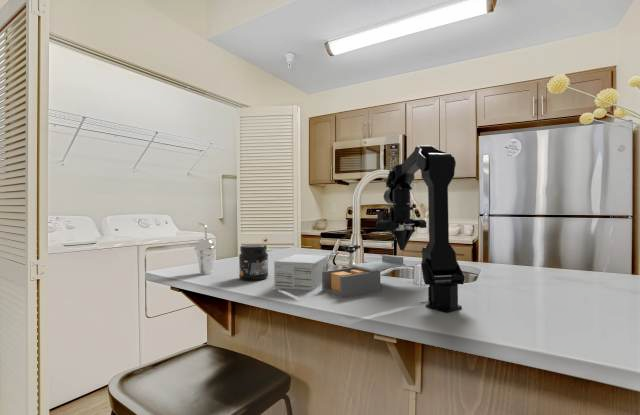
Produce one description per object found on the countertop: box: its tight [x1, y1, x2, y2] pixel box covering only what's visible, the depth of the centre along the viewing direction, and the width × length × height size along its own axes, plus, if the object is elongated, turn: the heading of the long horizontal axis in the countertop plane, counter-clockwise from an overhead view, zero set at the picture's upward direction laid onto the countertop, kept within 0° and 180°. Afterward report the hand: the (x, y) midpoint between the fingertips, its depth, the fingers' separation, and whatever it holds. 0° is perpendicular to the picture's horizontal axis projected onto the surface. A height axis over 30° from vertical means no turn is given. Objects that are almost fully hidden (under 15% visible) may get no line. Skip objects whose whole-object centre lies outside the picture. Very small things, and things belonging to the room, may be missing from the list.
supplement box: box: [273, 253, 329, 292], centre depth 111 cm, size 17×13×9 cm
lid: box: [351, 254, 407, 272], centre depth 107 cm, size 10×14×3 cm
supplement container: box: [238, 243, 269, 282], centre depth 123 cm, size 10×10×12 cm
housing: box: [321, 267, 382, 299], centre depth 101 cm, size 10×14×6 cm
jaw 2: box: [350, 269, 372, 275], centre depth 103 cm, size 4×4×6 cm
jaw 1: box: [331, 271, 352, 293], centre depth 99 cm, size 4×4×6 cm
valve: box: [341, 244, 361, 268], centre depth 120 cm, size 7×7×12 cm
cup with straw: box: [193, 222, 217, 275], centre depth 133 cm, size 8×9×20 cm
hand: (402, 250), depth 113 cm, fingers closed
